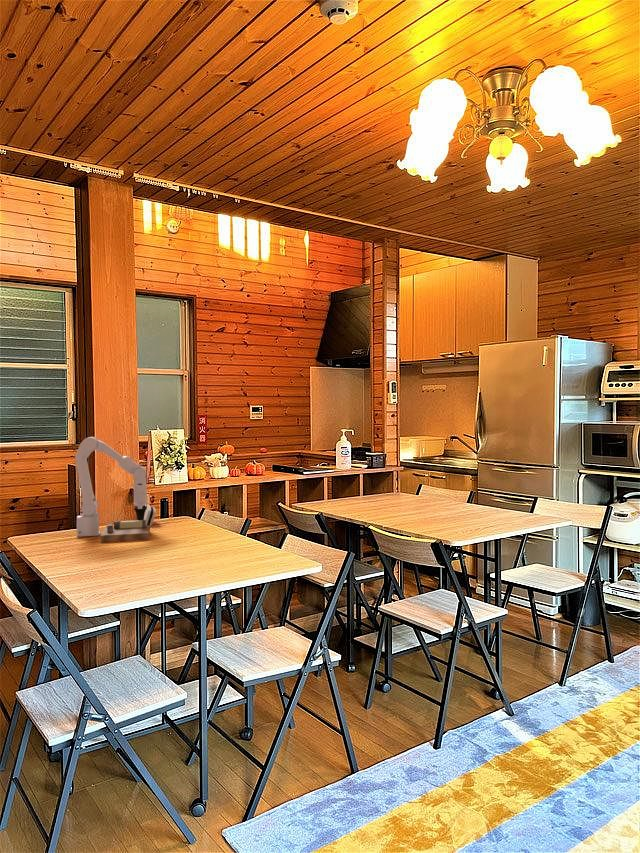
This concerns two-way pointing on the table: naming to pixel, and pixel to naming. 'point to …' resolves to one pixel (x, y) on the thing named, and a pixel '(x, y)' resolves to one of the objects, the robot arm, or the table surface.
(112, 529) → the grey flat base
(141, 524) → the folding leg
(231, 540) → the table surface
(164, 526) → the table surface
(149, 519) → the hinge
